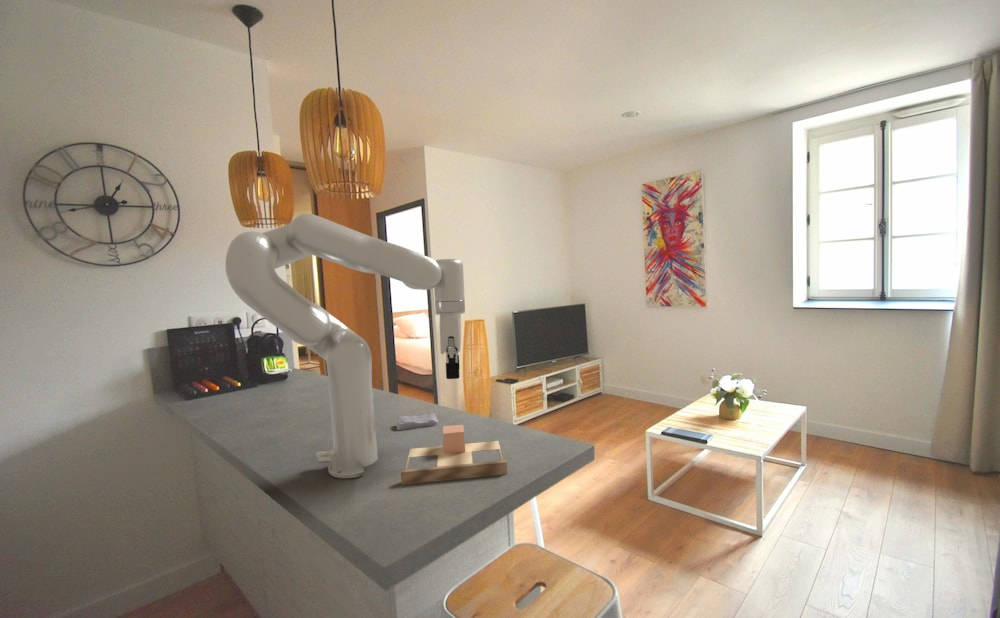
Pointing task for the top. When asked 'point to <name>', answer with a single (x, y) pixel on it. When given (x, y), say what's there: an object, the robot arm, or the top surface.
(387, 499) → the top surface
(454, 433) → the terracotta block
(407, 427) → the stone block
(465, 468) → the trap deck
